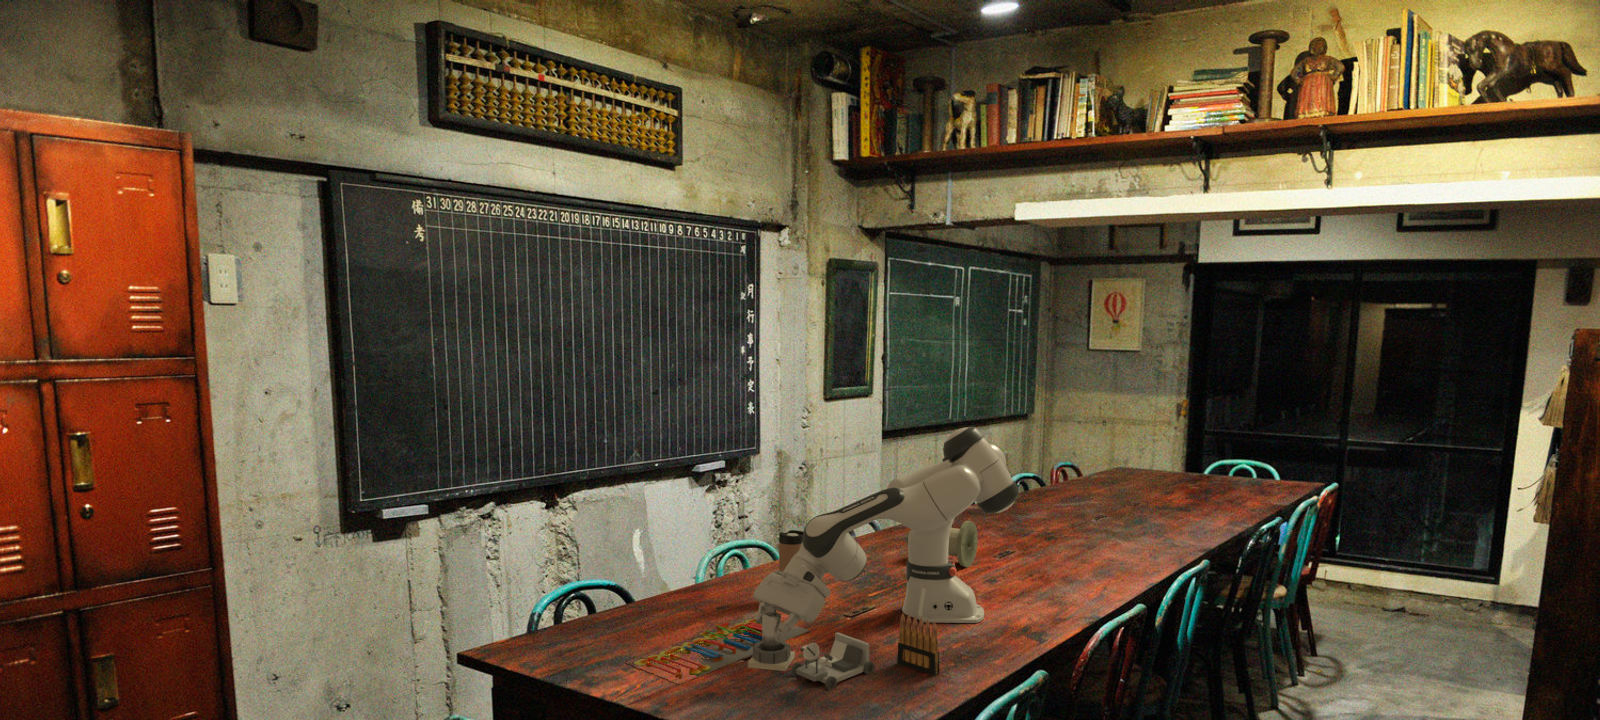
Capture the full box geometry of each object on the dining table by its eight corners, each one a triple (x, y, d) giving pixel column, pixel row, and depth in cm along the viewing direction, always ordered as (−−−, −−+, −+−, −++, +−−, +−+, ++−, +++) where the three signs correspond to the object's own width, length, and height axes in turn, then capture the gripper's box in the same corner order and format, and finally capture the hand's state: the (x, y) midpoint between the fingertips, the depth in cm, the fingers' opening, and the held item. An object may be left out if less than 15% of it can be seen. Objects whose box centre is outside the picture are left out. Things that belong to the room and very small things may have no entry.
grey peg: (781, 653, 201) (782, 603, 200) (779, 660, 196) (779, 610, 196) (763, 653, 201) (763, 603, 201) (761, 660, 197) (761, 609, 196)
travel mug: (802, 606, 239) (802, 536, 239) (776, 605, 241) (776, 535, 240) (807, 598, 247) (807, 530, 246) (782, 596, 248) (782, 529, 248)
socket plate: (794, 656, 202) (794, 641, 202) (785, 671, 193) (785, 655, 193) (758, 653, 204) (758, 638, 204) (747, 667, 195) (747, 651, 195)
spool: (977, 561, 288) (977, 517, 288) (961, 571, 275) (961, 526, 275) (932, 554, 297) (932, 512, 297) (914, 564, 284) (914, 520, 284)
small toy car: (819, 651, 181) (782, 637, 189) (818, 696, 181) (782, 680, 189) (874, 631, 193) (838, 618, 201) (874, 673, 193) (838, 659, 202)
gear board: (755, 608, 232) (809, 623, 220) (755, 616, 233) (809, 632, 220) (624, 654, 198) (680, 676, 186) (624, 665, 198) (680, 687, 186)
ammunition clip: (896, 663, 198) (897, 613, 198) (901, 661, 199) (901, 611, 199) (935, 676, 191) (935, 623, 190) (939, 673, 192) (940, 621, 192)
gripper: (767, 561, 211) (735, 608, 205) (822, 579, 195) (789, 630, 189) (780, 575, 214) (750, 622, 208) (836, 594, 198) (804, 645, 192)
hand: (769, 626), depth 198 cm, fingers open, 7 cm apart
